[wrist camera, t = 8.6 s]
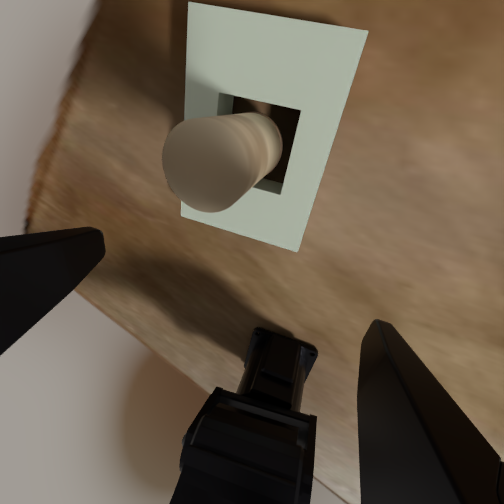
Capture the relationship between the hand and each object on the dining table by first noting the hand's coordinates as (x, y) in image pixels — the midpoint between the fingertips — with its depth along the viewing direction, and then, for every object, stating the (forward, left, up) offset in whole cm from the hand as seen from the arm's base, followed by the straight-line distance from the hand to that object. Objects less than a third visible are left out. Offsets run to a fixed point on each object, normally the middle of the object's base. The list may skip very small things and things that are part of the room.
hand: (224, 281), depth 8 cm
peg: (+2, +3, -12) cm, 13 cm away
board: (+2, +3, -12) cm, 13 cm away
